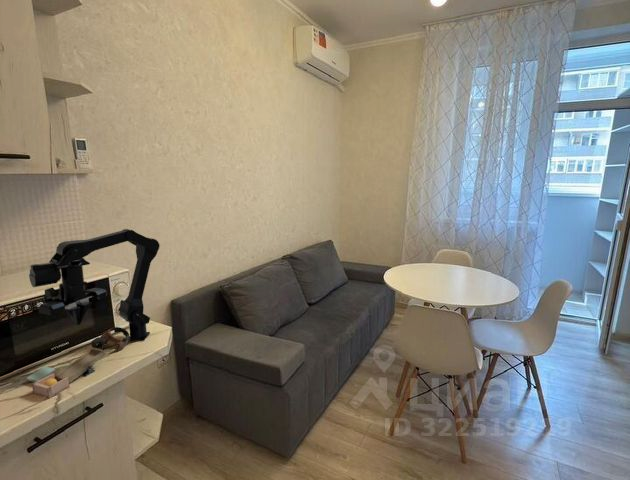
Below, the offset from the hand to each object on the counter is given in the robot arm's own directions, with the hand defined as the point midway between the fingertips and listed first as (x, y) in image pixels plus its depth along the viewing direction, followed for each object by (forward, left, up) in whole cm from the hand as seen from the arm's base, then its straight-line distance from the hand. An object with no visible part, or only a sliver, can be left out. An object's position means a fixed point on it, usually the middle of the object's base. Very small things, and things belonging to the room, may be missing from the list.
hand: (77, 324), depth 108 cm
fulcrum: (+9, +6, -12) cm, 16 cm away
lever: (+9, +2, -10) cm, 14 cm away
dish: (+18, +2, -12) cm, 22 cm away
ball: (+18, +2, -10) cm, 21 cm away
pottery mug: (-6, +7, -12) cm, 15 cm away
